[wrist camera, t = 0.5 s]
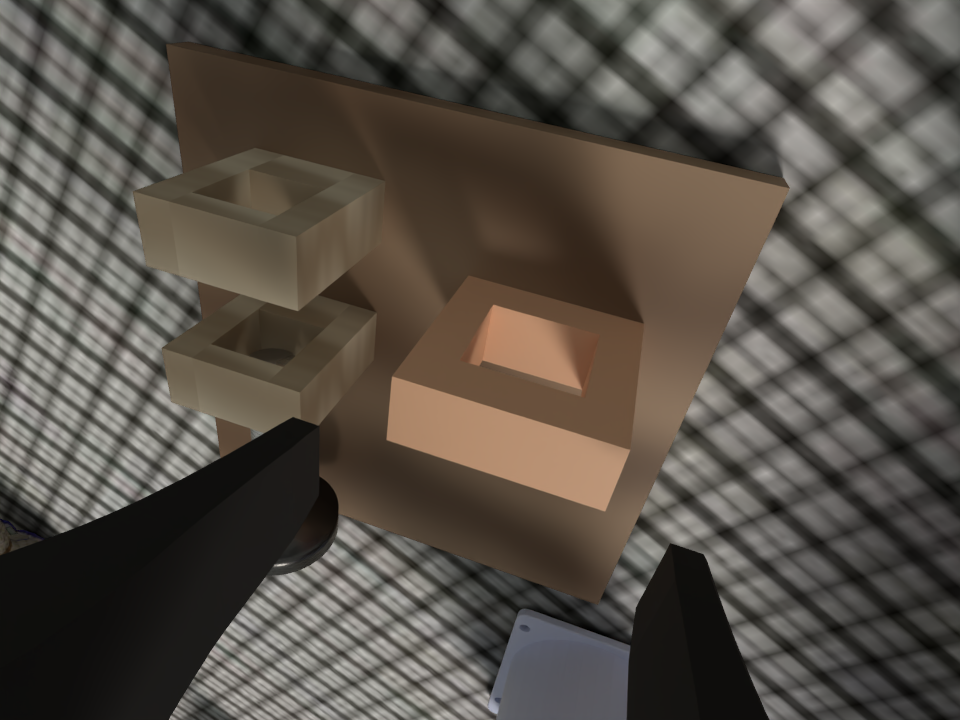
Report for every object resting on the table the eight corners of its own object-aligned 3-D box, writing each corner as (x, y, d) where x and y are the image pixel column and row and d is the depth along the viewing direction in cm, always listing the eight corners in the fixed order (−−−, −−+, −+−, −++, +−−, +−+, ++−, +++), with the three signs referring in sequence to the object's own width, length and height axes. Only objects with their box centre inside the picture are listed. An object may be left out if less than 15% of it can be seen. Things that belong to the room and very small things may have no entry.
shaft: (357, 504, 25) (301, 591, 21) (263, 472, 25) (194, 551, 22) (365, 348, 20) (296, 424, 16) (251, 313, 21) (161, 379, 17)
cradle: (600, 585, 25) (581, 725, 21) (235, 458, 28) (142, 556, 23) (783, 178, 15) (831, 263, 11) (189, 41, 18) (7, 58, 13)
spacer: (624, 376, 19) (605, 511, 14) (459, 328, 20) (386, 440, 15) (644, 323, 18) (630, 450, 13) (468, 275, 18) (391, 376, 14)
